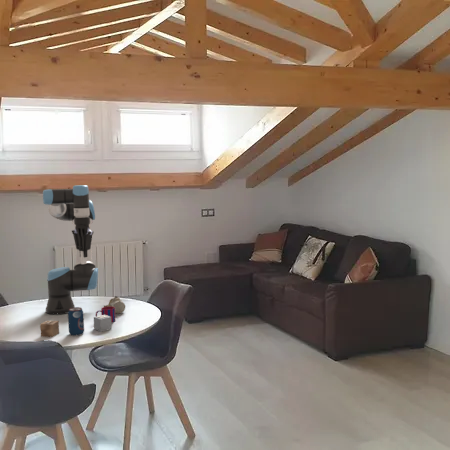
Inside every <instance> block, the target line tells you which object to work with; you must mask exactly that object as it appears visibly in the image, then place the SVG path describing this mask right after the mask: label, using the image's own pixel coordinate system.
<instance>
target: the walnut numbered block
mask: <svg viewBox="0 0 450 450" xmlns="http://www.w3.org/2000/svg"><path fill="white" fill-rule="evenodd" d="M39 327H40V328H39V329H40V337H42V338H54V337H55V336H57V335H59V334H60V322H59V320H46V321H45V320H44V321H43V322H41V323H40V324H39Z"/></svg>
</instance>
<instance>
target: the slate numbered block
mask: <svg viewBox="0 0 450 450" xmlns="http://www.w3.org/2000/svg"><path fill="white" fill-rule="evenodd" d="M112 326H113V325H112V323H111V317H110V316H107V315H102V314H101V315H97V316H96V315H95V316H93V327H94V328H93V330H95V331H98V332H100V333H101V332H105V331H109V330H112V329H113V328H112Z"/></svg>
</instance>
